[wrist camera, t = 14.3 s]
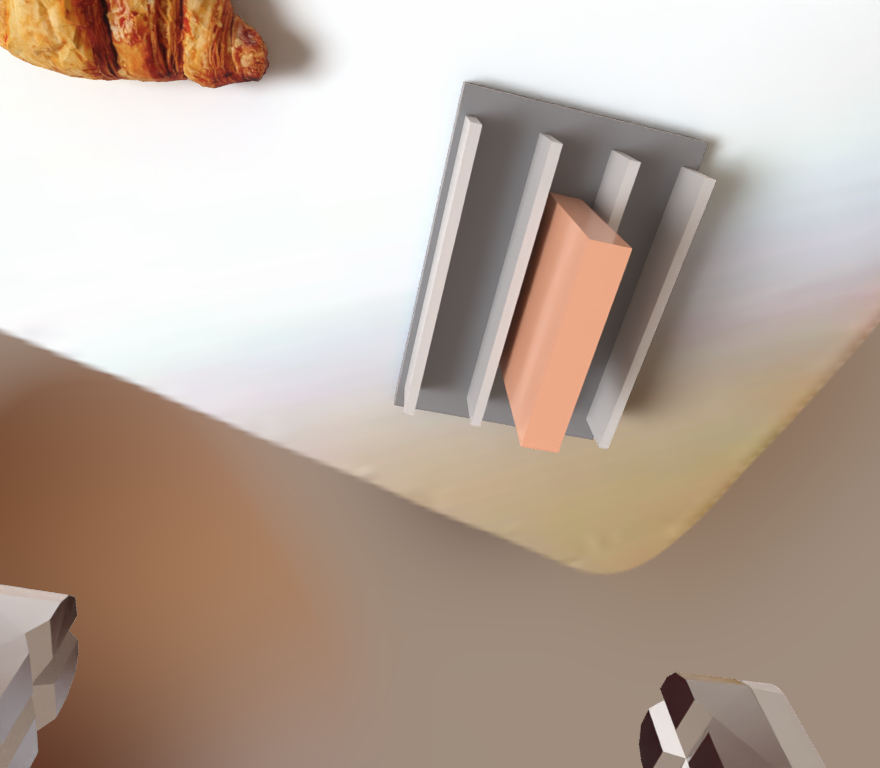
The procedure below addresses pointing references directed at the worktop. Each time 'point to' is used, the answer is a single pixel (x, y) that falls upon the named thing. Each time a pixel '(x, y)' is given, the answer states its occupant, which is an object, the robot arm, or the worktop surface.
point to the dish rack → (512, 238)
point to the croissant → (135, 40)
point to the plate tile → (559, 318)
